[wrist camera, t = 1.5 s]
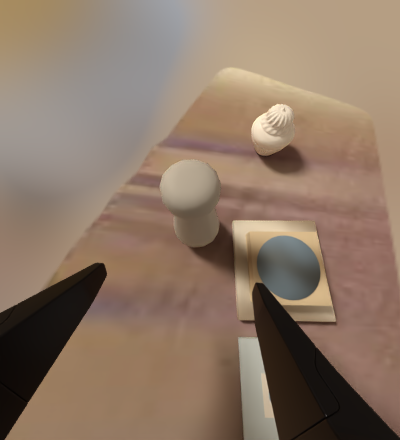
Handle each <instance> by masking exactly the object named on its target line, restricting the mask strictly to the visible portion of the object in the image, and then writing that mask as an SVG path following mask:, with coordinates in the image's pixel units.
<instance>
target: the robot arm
mask: <svg viewBox="0 0 400 440" xmlns="http://www.w3.org/2000/svg"><path fill="white" fill-rule="evenodd" d="M106 276H107V272H106V268H105V265H104V264H103V263H94V264H93V265H91V266H89V267H87V268H85V269H83V270H81V271H79V272H77V273H75V274H74V275H72V276H70V277H68V278H66V279H64V280H62V281H60V282H58V283H56V284H55V285H53V286H51V287H49V288H47V289H45V290H43V291H41V292H39V293H37V294H36V295H34V296H32V297H30V298H28V299H26V300H24V301H22V302H20V303H18V304H17V305H15V306H13V307H11V308H9V309H7V310H5V311H3V312H1V313H0V440H5V438H6V437H7V435H8V434H9V432H10V430H11V429H12V427H13V426H14V424H15V423H16V421H17V420H18V418H19V416H20V415H21V413H22V412H23V410H24V409H25V407H26V406H27V404H28V402H29V401H30V399H31V398H32V396H33V394H34V393H35V391H36V390H37V388H38V387H39V385H40V384H41V382H42V381H43V379H44V377H45V376H46V374H47V373H48V371H49V370H50V368H51V367H52V365H53V363H54V362H55V360H56V359H57V357H58V356H59V354H60V353H61V351H62V349H63V348H64V346H65V345H66V343H67V342H68V340H69V339H70V337H71V335H72V334H73V332H74V331H75V329H76V328H77V326H78V325H79V323H80V321H81V320H82V318H83V317H84V315H85V314H86V312H87V311H88V309H89V308H90V306H91V304H92V303H93V301H94V299H95V297H96V296H97V294H98V292H99V290H100V288H101V286H102V284H103V282H104V280H105V278H106ZM252 301H253V311H254V320H255V327H256V332H257V337H258V342H259V346H260V351H261V356H262V361H263V366H264V370H265V375H266V380H267V385H268V390H269V394H270V399H271V404H272V409H273V413H274V418H275V423H276V428H277V433H278V437H279V440H400V437H398V436H397V435H396V434H395V432H394V431H393V430H392V429H391V428H390V427H389V426H388V425H387V424H386V423H385V422H384V421H383V420H382V419H381V418H380V417H379V416H378V415H377V414H376V412H375V411H374V410H373V409H372V408H371V407H370V406H369V405H368V404H367V403H366V402H365V401H364V400H363V399H362V398H361V396H360V395H359V394H358V393H357V392H356V391H355V390H354V389H353V388H352V387H351V386H350V385H349V384H348V383H347V381H346V380H345V379H344V378H343V377H342V376H341V375H340V374H339V373H338V372H337V370H336V369H335V368H334V367H333V366H332V365H331V363H330V362H329V361H328V360H327V359H326V358H325V357H324V355H323V354H322V353H321V352H320V351H319V349H318V348H317V347H316V346H315V345H314V343H313V342H312V341H311V340H310V339H309V337H308V336H307V335H306V334H305V333H304V331H303V330H302V329H301V328H300V327H299V325H298V324H297V323H296V322H295V321H294V319H293V318H292V317H291V316H290V315H289V313H288V312H287V311H286V310H285V309H284V307H283V306H282V305H281V304H280V303H279V301H278V300H277V299H276V298H275V297H274V295H273V294H272V293H271V292H270V291H269V289H268V288H267V287H266V286H265V285H264V284H263V283H259V282H256V283H255V285H254V288H253V291H252Z"/></svg>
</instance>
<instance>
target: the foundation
mask: <svg viewBox="0 0 400 440" xmlns="http://www.w3.org/2000/svg"><path fill="white" fill-rule="evenodd" d="M232 230H233V249H234V268H235V287H236V306H237V318H238V320H254V311H253V301H252V291H253V288H254V285H255V283H256V282H259V283H263V284H264V285H265V286H266V287H267V288H268V289H269V291H270V292H271V293H272V294H273V295H274V297H275V298H276V299H277V300H278V301H279V303H280V304H281V305H282V306H283V307H284V309H285V310H286V311H287V312H288V313H289V315H290V316H291V317H292V318H293V319H294V321H322V322H336V319H335V314H334V310H333V305H332V300H331V296H330V291H329V286H328V282H327V277H326V272H325V268H324V263H323V258H322V254H321V249H320V244H319V240H318V235H317V230H316V226H315V221H233V222H232Z"/></svg>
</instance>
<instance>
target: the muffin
mask: <svg viewBox="0 0 400 440" xmlns="http://www.w3.org/2000/svg"><path fill="white" fill-rule="evenodd" d="M293 120H294V112H293V110H292V109H291V108H290V107H289V106H287V105H283V104H281V105H279V104H277V105H276V106H273V107H272V108H271V109H269V110H268V112H267V113H264V114H262V115H261V116H259V117H258V118H257V119H256V120H255V122H254V123H253V125H252V129H251V133H252V142H253V145H254V149H255V151H256V152H257V153H258V154H260V155H262V156H269V155H271V154H273V153H275V152H278V151H280V150H282V149H283V148H284V147H286V146H287V145H288V144H289V143H290V142H291V141H292V140H293V138H294V135H295V125H294V123H293Z"/></svg>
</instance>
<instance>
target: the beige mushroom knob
mask: <svg viewBox="0 0 400 440" xmlns="http://www.w3.org/2000/svg"><path fill="white" fill-rule="evenodd" d="M160 191H161V195H162V200H163V203H164V205H165V206H166V207H167V208H168V209H169V210H170V212H171V213H172V214H173V215H174V229H175V233H176V236H177V237H178V238H179V240H180V241H181V242H182V243H183V244H186V245H188V246H190V247H203V246H205V245H207V244H209V243H211V242H213V240H214V238H215V237H216V235H217V234H218V230H219V224H220V223H219V220H218V216H217V213H216V210H215V206H216V205H217V203H218V201H219V197H220V191H221V183H220V180H219V178H218V175H217V173H216V171H215V170H214V169H213V168H212V167H211V166H210V165H209V164H208V163H205V162H202V161H199V160H196V159H192V160H181V161H179V162H177V163H175V164H173V165H171V166H170V167H169V168H168V169H167V171H166V172H165V173H164V174H163V176H162V179H161V183H160Z"/></svg>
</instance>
